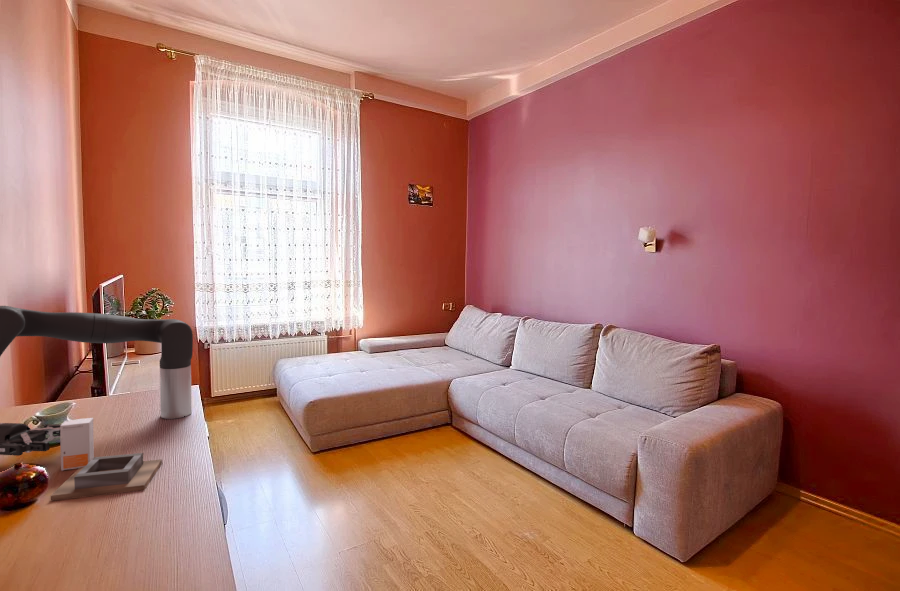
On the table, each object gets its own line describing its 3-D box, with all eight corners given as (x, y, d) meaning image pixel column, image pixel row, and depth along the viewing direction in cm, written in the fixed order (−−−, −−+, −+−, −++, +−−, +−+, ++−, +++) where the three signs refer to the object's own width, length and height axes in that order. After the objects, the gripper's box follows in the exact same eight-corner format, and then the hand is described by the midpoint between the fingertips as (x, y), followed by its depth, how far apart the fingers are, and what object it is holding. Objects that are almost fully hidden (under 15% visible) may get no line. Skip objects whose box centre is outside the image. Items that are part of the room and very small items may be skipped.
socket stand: (80, 471, 112) (79, 455, 112) (161, 463, 118) (161, 448, 117) (50, 500, 99) (50, 482, 98) (144, 489, 105) (144, 472, 104)
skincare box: (60, 471, 112) (58, 425, 111) (65, 464, 116) (64, 420, 115) (90, 467, 115) (89, 422, 114) (94, 460, 118) (93, 417, 118)
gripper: (-31, 434, 107) (37, 436, 107) (25, 414, 121) (85, 415, 121) (-29, 464, 108) (38, 466, 108) (27, 440, 122) (86, 442, 122)
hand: (63, 439), depth 115 cm, fingers open, 8 cm apart
